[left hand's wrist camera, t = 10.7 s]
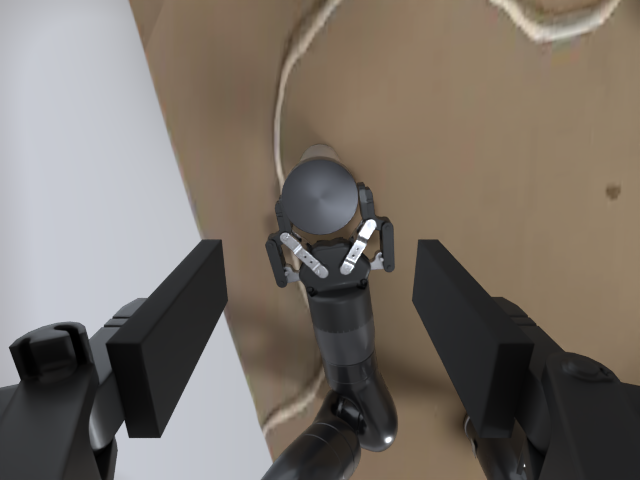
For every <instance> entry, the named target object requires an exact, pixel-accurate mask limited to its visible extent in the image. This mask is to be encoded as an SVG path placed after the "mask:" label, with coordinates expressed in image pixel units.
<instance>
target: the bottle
mask: <svg viewBox="0 0 640 480" xmlns="http://www.w3.org/2000/svg"><path fill="white" fill-rule="evenodd" d="M316 156H324V157H329V158H333V159H335V160H337V161H339V162H340V159H339V157H338V155H337V153H336V152H335V151H334V150H333V149H332V148H331V147H329V146H327V145H323V144H317V145H313V146H311V147H309V148H308V149H307V150H306V151H305V152H304V153H303V155H302V157H301V159H300V162H301V161H303V160H305V159H308V158H311V157H316ZM300 162H299V163H300ZM340 163H341V162H340Z"/></svg>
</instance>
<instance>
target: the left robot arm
mask: <svg viewBox="0 0 640 480" xmlns="http://www.w3.org/2000/svg"><path fill="white" fill-rule="evenodd" d="M227 301H228V297H227V287H226V277H225V268H224V258H223V248H222V240H201V242H200V243H199V244H198V245H197V246H196V247H195V248H194V249H193V250H192V251H191V252H190V253H189V254H188V255H187V257H186V258H185V259H184V260H183V261H182V262H181V263H180V264H179V265H178V266H177V267H176V268H175V269H174V271H173V272H172V273H171V274H170V275H169V276H168V277H167V278H166V279H165V280H164V281H163V282H162V283H161V284H160V286H159V287H158V288H157V289H156V290H155V291H154V292H153V293H152V294H151V295H150V296H149V297H148V298H138V299H136V300H134V301H132V302H130V303H129V304H127V305H125V306H123V307H122V308H121V309H120V310H119V311H118V312H117V313H116V314H115V315H114V316H113V318H112V319H110V320H109V321H108V322H107V323H106V324H105V325H104V327H102V328H101V329H100V330H99V331H98V332H96V334H94V335H93V336H92V337H91V338H90V339H88V335H87V332H86V328H85V326H84V325H82V324H80V323H77V322H61V323H55V324H51V325H47V326H43V327H41V328H38V329H36V330H33V331H31V332H28V333H27V334H25V335H23V336H22V337H20V338H18V339H17V340H16V341H15V342H14V343H13V344H12V345H11V346H10V347H9V349H10V352H11V354H12V357H13V360H14V363H15V365H16V368H17V371H18V373H19V376H20V379H21V381H20V383H19V384H16V385H12V386H6V387H2V388H0V480H113V479H114V472H115V465H116V458H117V451H118V450H117V443H116V439H115V434H116V432H117V431H118V429H119V428H120V426H121V425H122V423H123V421H124V420H125V424H126V428H127V432H128V436H129V438H161V436H162V434H163V432H164V429H165V427H166V425H167V423H168V421H169V419H170V417H171V415H172V413H173V411H174V409H175V407H176V405H177V403H178V401H179V399H180V397H181V395H182V393H183V391H184V389H185V387H186V385H187V383H188V381H189V379H190V377H191V375H192V373H193V371H194V369H195V366H196V364H197V362H198V360H199V358H200V356H201V354H202V352H203V350H204V348H205V346H206V344H207V342H208V340H209V338H210V336H211V334H212V332H213V330H214V328H215V326H216V324H217V322H218V320H219V318H220V316H221V314H222V312H223V310H224V308H225V306H226V304H227ZM412 301H413V304H414V306H415V308H416V310H417V312H418V314H419V316H420V318H421V320H422V322H423V324H424V326H425V328H426V330H427V332H428V334H429V336H430V338H431V340H432V342H433V344H434V346H435V348H436V350H437V352H438V354H439V356H440V358H441V360H442V362H443V364H444V366H445V369H446V371H447V373H448V375H449V377H450V379H451V381H452V383H453V385H454V387H455V389H456V391H457V393H458V395H459V397H460V399H461V401H462V403H463V405H464V407H465V409H466V411H467V413H468V415H469V417H470V419H471V421H472V423H473V425H474V427H475V429H476V432H477V434H478V436H479V438H511V436H512V432H513V428H514V424H515V420H517V421H518V423H519V424H520V426H521V427H522V429H523V431H524V432H525V434H526V435H525V439H524V442H523V446H522V450H521V454H520V457H519V461H518V465H517V471H516V474H519V475H522V471H523V468H524V467H525V471H526V478H527V480H640V386H637V385H632V384H627V383H622V382H620V380H619V379H618V378H617V376H616V375H615V374H614V373H613V372H612V371H611V370H610V369H608V368H607V367H605V366H604V365H603V364H601V363H599V362H597V361H595V360H593V359H591V358H589V357H586V356H582V355H579V354H576V353H570V352H565V351H564V350H563V349H562V348H561V347H560V346H559V345H558V344H557V343H556V342H554V341H553V340H552V339H551V338H550V337H549V336H548V335H547V334H546V333H545V332H544V331H543V330H542V329H541V328H540V327H539V326H536V323H535V322H534V321H533V320H532V319H531V318H528V315H527V314H526V313H525V312H524V311H523V310H522V309H521V308H520V307H518V306H517V305H516V304H514V303H512V302H510V301H508V300H507V299H505V298H503V297H491V296H490V295H489V294H488V293H487V292H486V291H485V290H484V289H483V288H482V287H481V285H480V284H479V283H478V282H477V281H476V280H475V279H474V278H473V277H472V276H471V275H470V274H469V273H468V272H467V270H466V269H465V268H464V267H463V266H462V265H461V264H460V263H459V262H458V261H457V260H456V259H455V258H454V257H453V255H452V254H451V253H450V252H449V251H448V250H447V249H446V248H445V247H444V246H443V245H442V244H441V243H440V242H439V240H418V248H417V258H416V268H415V277H414V287H413V297H412Z"/></svg>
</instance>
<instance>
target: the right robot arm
mask: <svg viewBox="0 0 640 480" xmlns="http://www.w3.org/2000/svg"><path fill="white" fill-rule="evenodd" d="M357 190H358V198H359V205H360V213H361V216H362V220H361V221H360V223H359V225H358V226H357V228H356V229H355V230H354V231H353V233H352V234H351V236H350V238H349V240H348V239H343V237H339V238H335V239H333V240H330V241H328V240H320V241H317V243H315V244H313V245H312V244H311V243H310V242H309V241H307V240H306V239H305V238H304V237H301V236H300V235H299V234H298V233H297V232H295V231H294V230H293V229H292V227H293V223H292V222H291V221H290V220H289V219H288V217H287V215H286V214H285V211H284V209H283V205H282V195H280V197H279V201H277V203H276V206H275V211H276V216H277V220H278V225H279V231H278V232H276V233H274V234H270V235H269V237H268V241H267V242H266V245H265V246H266V250H267V253H268V256H269V260H270V263H271V266H272V269H273V273H274V276H275V279H276V283H277V285H278V286H279V287H281V288H283V287H285V286H286V285H287V283H289V282H294V281H299V280H301V281H302V283H303V284H304V285H305V288H306V292H307V297H308V302H309V307H310V312H311V317H312V322H313V327H314V332H315V336H316V340H317V343H318V346H319V349H320V352H321V357H322V362H323V367H324V372H325V376H326V380H327V383H328V385H329V386H330V388H331V390H330V391H329V392H328V393H327V395H326V397H325V399H324V401H323V404H322V406H321V408H320V410H319V412H318V414H317V416H316V417H315V419H314V421H313V423H312V425H310V426H309V427H308V428H307V429H306V430H305V431H304V432H303V433H302V434H301V435H300V436H298V437H297V438H296V439H295V440H294V441H293V442H292V443H291V444H290V445H289V446H288V447H287V448H286V449H285V450H284V451H283V452H282V454H281V455H280V456H279V457H278V458H277V459H276V461H275V462H274V463H273V464H272V466H271V467H270V468H269V470H268V471H267V472H266V474H265V475H264V476H263V478H262V479H261V480H349V479H350V477H351V476H352V474H353V473H354V471H355V470H356V468H357V466H358V464H359V461H360V458H361V448H363V449H366V450H369V451H372V452H382V451H384V450H386V449H388V448H389V447H390V446H391V445H392V443H393V442H394V440H395V438H396V434H397V429H398V417H397V411H396V407H395V404H394V401H393V399H392V396H391V394H390V392H389V390H388V388H387V386H386V384H385V382H384V380H383V378H382V375H381V373H380V372H379V369H378V366H377V358H376V351H375V343H374V338H375V329H374V321H373V313H372V305H371V298H370V290H369V282H368V275H369V272H370V270H375V269H384V270H385V271H386V272H392V271H393V270H394V268H395V264H394V233H393V225H392V223H391V222H390V220H389V219H388V218H387V217H379V216H376V215H375V213H374V204H373V195H372V192H371V190H370V189H369V187H365V184H364V183H363V182H360V183H357ZM374 230H379V235H380V250H377V251H376V252H375V254H374V257H373V258H372V259H371V260H369V259H368V257H367V256H365V255H364V254H363V253H362V251H363V249H364V248H365V246H366V244H367V241H368V239H369V237H370V236H371V234H372V232H373V231H374ZM282 244H285V245H286V246H288V247H289V248H290V249H291V250H292V251H293V252H294V254H295V255H296V256H297V257H298V258H299V259H300V260H302V261H303V263H302V265H301V267H300V269H299V270H295V269H293V267H292V265H291V264H286V262H285V258H284V255H283V251H282V248H281V245H282ZM463 427H464V431H465V433H466V435H467V437H468V439H469V440H470V443H471V445H472V451H473V454H474V456H475V458H476V456H477V458H478V460H479V462H480V465H481V467H482V469H483V471H484V473H485V476H486V478H487V480H527V478H526V471H525V467H524V468H523V471H522V475H519V474H516V471H517V465H518V461H519V457H520V454H521V450H522V446H523V442H524V439H525V435H526V434H525V432H524V431H523V429H522V427H521V426H520V424H519V423H518V421H517V420H515V424H514V428H513V432H512V436H511V438H479V436H478V434H477V432H476V429H475V427H474V425H473V423H472V421H471V419H470V417H469V415H468V414H467V415H466V417H465V419H464V423H463Z"/></svg>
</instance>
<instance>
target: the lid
mask: <svg viewBox="0 0 640 480" xmlns="http://www.w3.org/2000/svg"><path fill="white" fill-rule="evenodd" d="M282 205H283V209H284V211H285V214H286V215H287V217H288V219H289V220H290V221H291V222H292V223H293V224H294V225H295V226H296V227H297V228H299V229H301V230H302V231H305V232H307V233H311V234H316V235H323V234H329V233H333V232H335V231H337V230H339V229H341V228H342V227H344V226H345V225H346V224H347V223H348V222H349V221H350V220H351V218H352V217H353V215H354V213H355V211H356V208H357V205H358V190H357V186H356V183H355V181H354V179H353V177H352V175H351V173H350V172H349V170H348V169H347V168H346V167H345V166H344V165H343V164H342V163H340V162H339V161H337V160H335V159H333V158H329V157H324V156H316V157H311V158H308V159H305V160H303V161H301V162H300V163H298V164H297V165H296V166H295V167H294V168H293V169H292V170H291V172H290V173H289V175H288V177H287V179H286V181H285V183H284V186H283V189H282Z"/></svg>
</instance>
